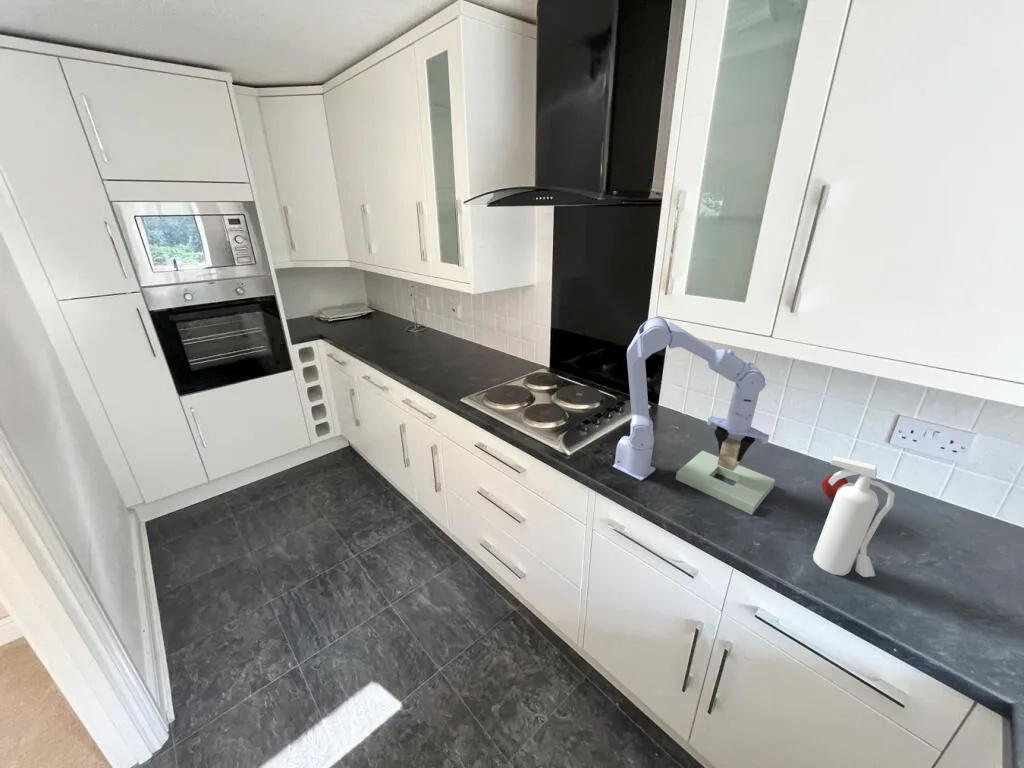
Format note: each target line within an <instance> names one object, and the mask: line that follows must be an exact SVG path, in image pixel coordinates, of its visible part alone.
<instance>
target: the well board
mask: <svg viewBox="0 0 1024 768" xmlns="http://www.w3.org/2000/svg"><path fill="white" fill-rule="evenodd" d="M718 460H719V456H718V455H715V454H712V453H710V452H707V451H706V450H701V451H700V452H699V453H697V454H696V455H695V456H694V457H693V458H691V460H689V461H688V462H687V463H686V464H685V465H683V466H682V467H681V468H680V469H679V470H676V475H675V480H676V481H678V482H681V483H683V484H685V485H688V486H689V487H691V488H693V489H696V490H698V491H700V492H702V493H704V494H706V495H709V496H711V497H713V498H716V499H717V500H720V501H721V502H724V503H726V504H728V505H730V506H733V507H734V508H736V509H739V510H740V511H743V512H745V513H748V514H750V515H753V514H754V513H755V511H756V510H757V509H758V507H759V506H760V505H761V503H762V502H763V501H764V499H765V498H766V497H767V496H768V495H769V494H770V492H771V491H772V489H773V488H774V487H775V483H776V479H775V478H772V477H770V476H767V475H765V474H762V473H760V472H758V471H754V470H752V469H750V468H748V467H745V466H743V465H740V464H738V466H737V467H736V468H735V469H734V470H733V471H731V470H729V469H726V468H724V467H721V466H719V465H717V464H718ZM717 474H718V475H720V476H721V477H724V478H726V479H728V480H732V481H733V482H735V483H734V484H733V485H731V484H729V483H727V482H726V481H725V482H724V480H723V481H722V480H720V479H719V478H716V477H715V476H716V475H717Z"/></svg>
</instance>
